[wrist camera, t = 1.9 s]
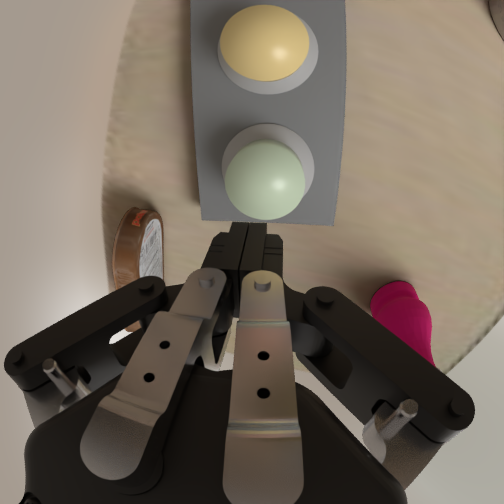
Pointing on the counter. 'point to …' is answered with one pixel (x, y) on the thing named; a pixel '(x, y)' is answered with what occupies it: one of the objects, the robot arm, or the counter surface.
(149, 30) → the counter surface
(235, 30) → the ochre button
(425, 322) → the pepper mill
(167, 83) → the counter surface
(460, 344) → the counter surface
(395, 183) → the counter surface
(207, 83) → the button panel
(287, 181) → the sage button
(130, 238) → the tin
